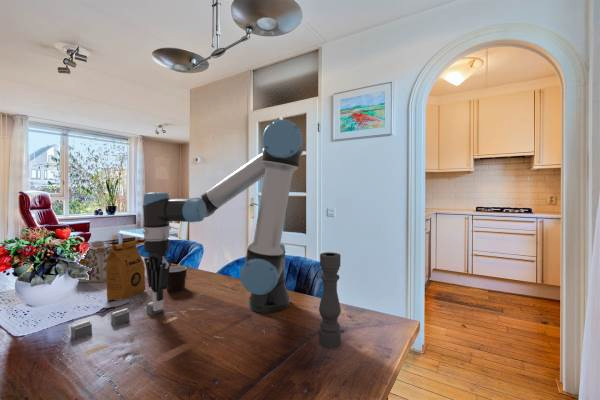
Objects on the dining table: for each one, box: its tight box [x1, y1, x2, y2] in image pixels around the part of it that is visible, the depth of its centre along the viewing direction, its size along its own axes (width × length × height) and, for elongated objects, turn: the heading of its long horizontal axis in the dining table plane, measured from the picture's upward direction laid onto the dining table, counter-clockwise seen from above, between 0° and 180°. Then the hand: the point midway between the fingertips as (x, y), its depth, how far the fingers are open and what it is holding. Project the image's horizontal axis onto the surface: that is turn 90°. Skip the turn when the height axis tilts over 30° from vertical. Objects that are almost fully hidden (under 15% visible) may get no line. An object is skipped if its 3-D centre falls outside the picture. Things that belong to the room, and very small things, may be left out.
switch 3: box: [146, 301, 164, 316], centre depth 95 cm, size 3×4×4 cm
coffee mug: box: [166, 265, 188, 293], centre depth 118 cm, size 12×9×10 cm
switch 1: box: [70, 320, 93, 341], centre depth 80 cm, size 3×4×4 cm
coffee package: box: [105, 239, 147, 301], centre depth 112 cm, size 10×12×22 cm
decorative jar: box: [77, 240, 114, 283], centre depth 134 cm, size 12×12×18 cm
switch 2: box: [110, 307, 130, 327], centre depth 88 cm, size 3×4×4 cm
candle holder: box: [318, 251, 342, 349], centre depth 79 cm, size 6×6×25 cm
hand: (158, 309), depth 94 cm, fingers closed
